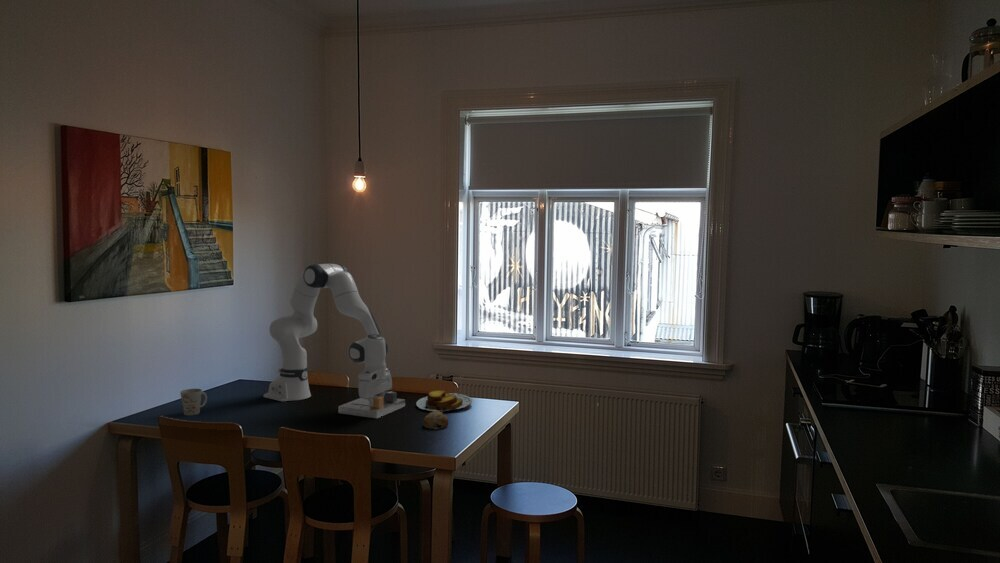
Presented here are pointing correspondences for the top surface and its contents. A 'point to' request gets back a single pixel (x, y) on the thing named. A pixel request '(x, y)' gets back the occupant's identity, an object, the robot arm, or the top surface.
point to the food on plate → (443, 401)
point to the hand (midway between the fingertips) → (376, 403)
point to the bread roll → (435, 420)
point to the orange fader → (377, 401)
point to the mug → (192, 401)
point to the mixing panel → (369, 408)
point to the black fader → (390, 396)
